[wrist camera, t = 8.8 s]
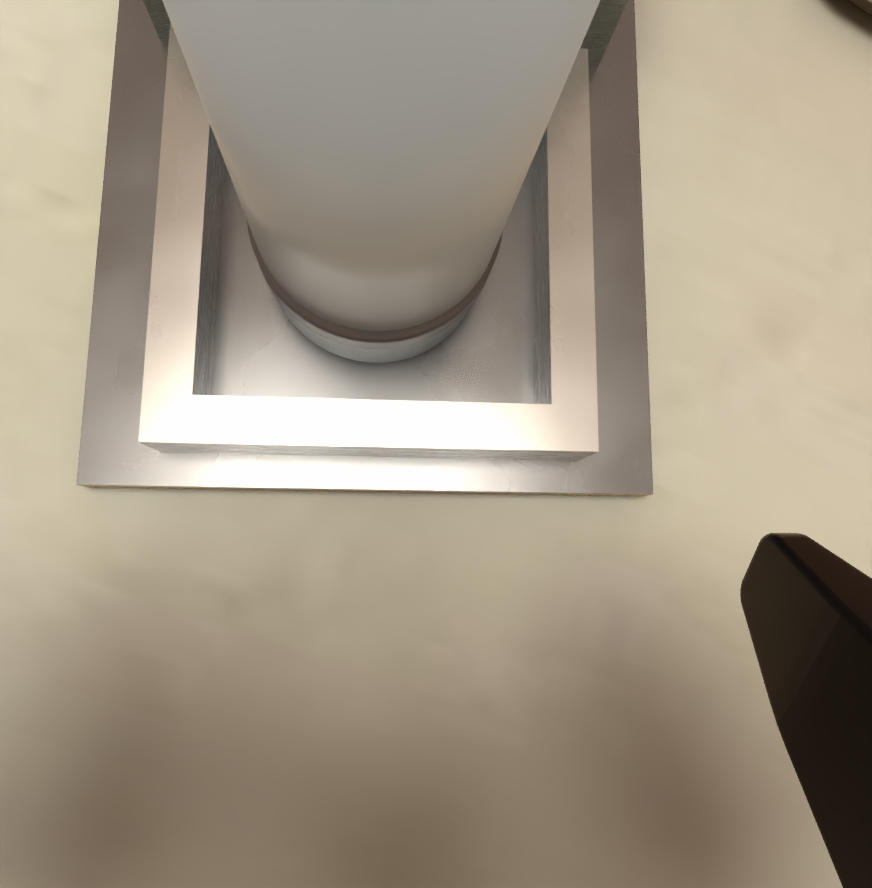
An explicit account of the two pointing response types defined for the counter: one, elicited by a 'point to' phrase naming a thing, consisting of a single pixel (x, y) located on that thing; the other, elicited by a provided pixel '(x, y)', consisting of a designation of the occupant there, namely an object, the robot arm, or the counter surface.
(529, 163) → the bottle
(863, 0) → the beverage can
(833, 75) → the counter surface
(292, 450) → the gray base
